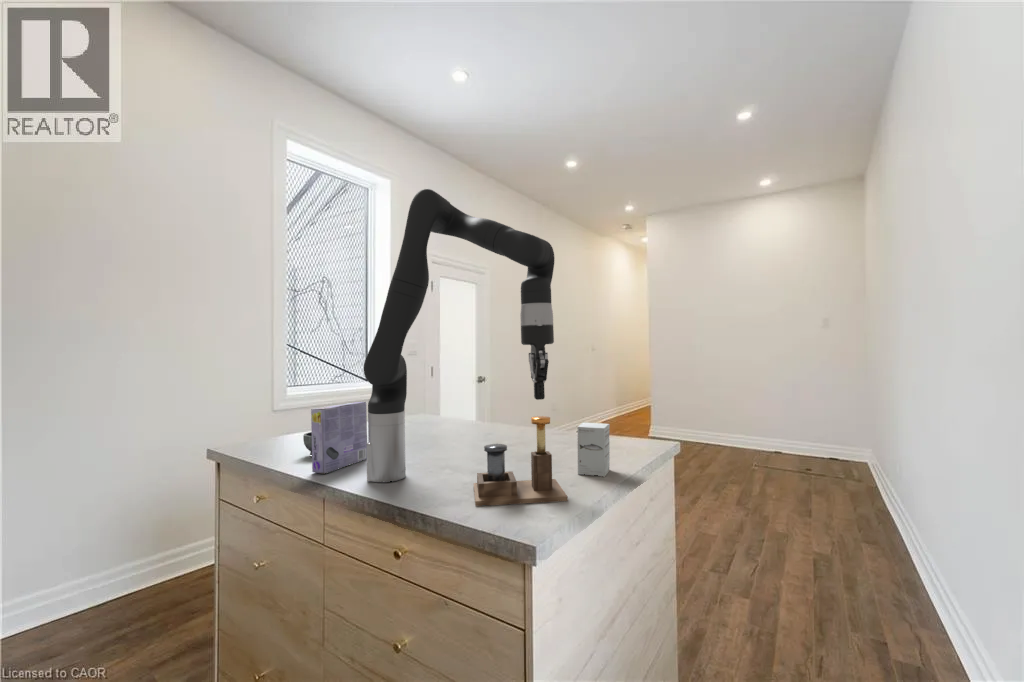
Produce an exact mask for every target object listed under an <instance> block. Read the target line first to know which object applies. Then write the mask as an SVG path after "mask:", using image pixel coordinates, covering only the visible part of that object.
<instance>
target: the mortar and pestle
mask: <svg viewBox="0 0 1024 682" xmlns="http://www.w3.org/2000/svg"><path fill="white" fill-rule="evenodd" d="M303 445H304V446H305V448H306V449H307V450H308V452H310V453H309V456H310V455H312V431H310V432H306V433H303Z"/></svg>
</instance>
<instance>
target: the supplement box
mask: <svg viewBox="0 0 1024 682" xmlns="http://www.w3.org/2000/svg"><path fill="white" fill-rule="evenodd" d="M610 448H611V447H610V423H600V422H581V423H580V424H579V425H577V475H584V474H585V475H586V476H594V475H598V476H597V477H602V476H605V475H606V476H607V474H608V473H609V471H610V459H611V457H610V453H611V452H610ZM608 470H609V471H608ZM607 472H608V473H607ZM585 475H584V476H585ZM606 476H605V477H606Z"/></svg>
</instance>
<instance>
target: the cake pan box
mask: <svg viewBox="0 0 1024 682" xmlns="http://www.w3.org/2000/svg"><path fill="white" fill-rule="evenodd" d="M310 414H311V415H310V416H311V419H310V421H311V423H310V424H311V432H312V457H311V468H312V469H311V470H312V471H311V472H312V473H315V474H321V475H326V474H328V472H329V473H331V472H330V471H332V472H334V471H337V470H339V469H338V468H340V469H342V468H341V467H344V466H347V465H349V464H352V463H354V464H356V462H357V463H359V462H358V461H360V462H362V461H361V460H363V461H365V460H364V459H366V460H367V443H368V410H367V402H366V401H360V402H359V401H355V402H351V403H350V402H349V403H343V404H336V405H334V404H333V405H329V406H322V407H316V408H311V410H310ZM352 465H353V464H352ZM347 467H348V466H347ZM344 468H345V467H344ZM336 469H337V470H336ZM333 470H334V471H333ZM325 473H326V474H325Z"/></svg>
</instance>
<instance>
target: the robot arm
mask: <svg viewBox="0 0 1024 682" xmlns="http://www.w3.org/2000/svg"><path fill="white" fill-rule="evenodd" d="M431 233H435V234H440V235H445V236H450V237H455V238H458V239H462V240H464V241H467V242H470V243H472V244H473V245H476V246H478V247H480V248H483V249H485V250H487V251H489V252H490V253H494V254H495V255H496V254H497V255H499V256H503V257H505V258H507V259H510V260H511V261H512V262H515V263H518V264H520V265H522V266H525V267H527V272H526V273H527V275H526V279H524V280H523V281H521V282H520V283H521V285H520V341H521V342H520V343H521V345H523V346H530V352H528V362H529V371H530V375H531V376H530V378H531V381H532V383H533V397H534V399H535V400H537V401H539V400H544V399H545V396H546V395H545V393H546V392H545V383H546V381H547V379H548V370H549V369H548V368H549V361H550V360H549V354H548V352H546V347H545V346H546V345H553V344H554V343H555V337H554V336H555V335H554V330H555V329H554V313H553V305H552V287H551V286H552V285H551V284H552V281H553V277H554V269H555V268H554V267H555V252H554V248H553V247H552V244H550V242H548V240H545V239H543V238H541V237H539V236H537V235H534V234H531V233H527V232H525V231H521V230H518V229H515V228H513V227H511V226H509V225H506V224H503V223H501V222H498V221H496V220H492V219H488V218H483V217H475V216H472V215H469V214H467V213H465V212H463V211H462V210H460V209H458V207H456V206H454V205H453V204H451V202H450V201H448V199H446V198H444V197H443V196H442V195H440V194H439V192H436V191H435V190H433V189H431V188H423V189H421V190H419V191H417V193H416V194H415V195H414V196H413V199H412V200H411V203H410V204H409V210H408V213H407V219H406V224H405V229H404V233H403V239H402V244H401V248H400V251H399V254H398V258H397V261H396V266H395V268H394V272H393V274H392V277H391V280H390V283H389V287H388V290H387V293H386V294H387V295H386V299H385V302H384V306H383V309H382V313H381V316H380V320H379V323H378V324H379V325H378V328H377V331H376V334H375V336H374V339H373V341H372V343H371V346H370V347H369V351H368V353H367V354H366V357H365V360H364V363H363V375H364V376H365V379H366V381H367V382H368V383H369V384H371V395H370V398H369V400H368V402H367V459H366V481H367V482H373V483H391V482H390V481H392V482H396V481H401V480H403V479H405V478H406V475H407V474H406V471H407V468H406V419H405V418H406V417H405V416H406V414H405V413H406V412H405V411H406V410H405V409H406V408H405V405H406V399H407V393H408V392H407V391H408V390H407V386H408V381H407V380H408V370H407V369H408V368H407V363H406V360H405V357H404V356H403V355H402V352H403V348H404V344H405V340H406V337H407V335H408V333H409V331H410V329H411V328H412V325H413V324H414V322H415V320H416V319H417V317H418V315H419V313H420V311H421V309H422V307H423V305H424V302H425V298H426V294H427V290H428V288H429V281H430V273H429V272H430V271H429V264H428V263H429V262H428V243H429V240H430V236H431Z"/></svg>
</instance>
